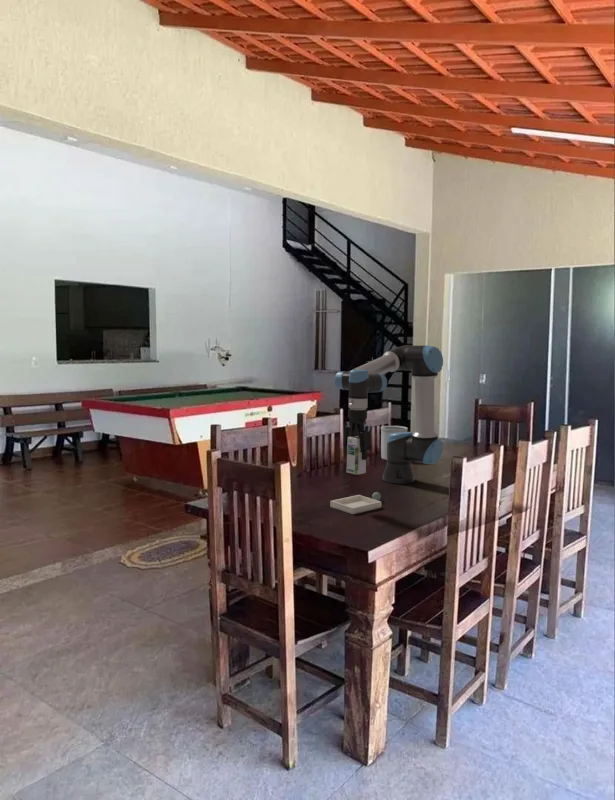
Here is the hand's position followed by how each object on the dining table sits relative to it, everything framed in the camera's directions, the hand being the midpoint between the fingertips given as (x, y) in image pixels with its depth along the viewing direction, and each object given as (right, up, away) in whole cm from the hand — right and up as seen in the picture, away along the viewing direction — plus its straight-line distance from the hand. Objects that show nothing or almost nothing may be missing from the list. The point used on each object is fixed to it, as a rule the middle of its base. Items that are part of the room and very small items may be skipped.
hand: (356, 466), depth 250 cm
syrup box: (0, -3, 0) cm, 3 cm away
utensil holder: (+29, -6, +101) cm, 105 cm away
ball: (+9, -14, +12) cm, 21 cm away
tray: (0, -17, +2) cm, 17 cm away
